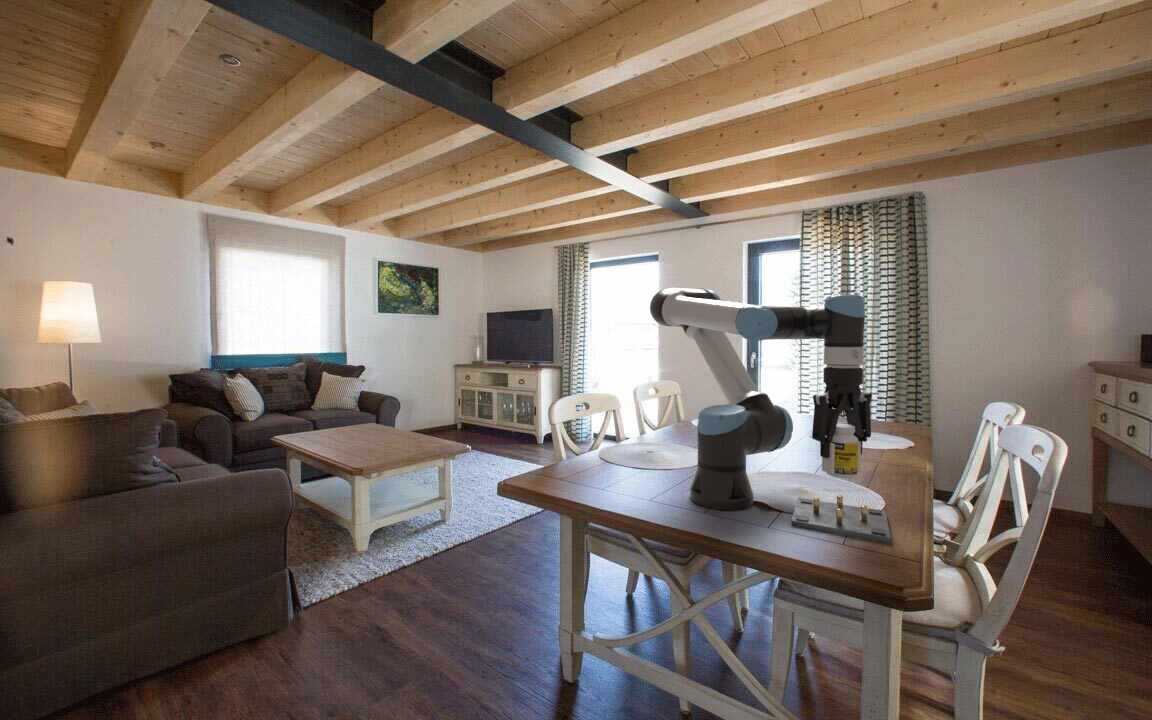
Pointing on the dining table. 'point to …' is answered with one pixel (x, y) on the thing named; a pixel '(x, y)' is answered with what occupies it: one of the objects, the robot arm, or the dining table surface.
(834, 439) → the pill bottle
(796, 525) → the plate
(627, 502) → the dining table surface
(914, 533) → the dining table surface
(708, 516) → the dining table surface
